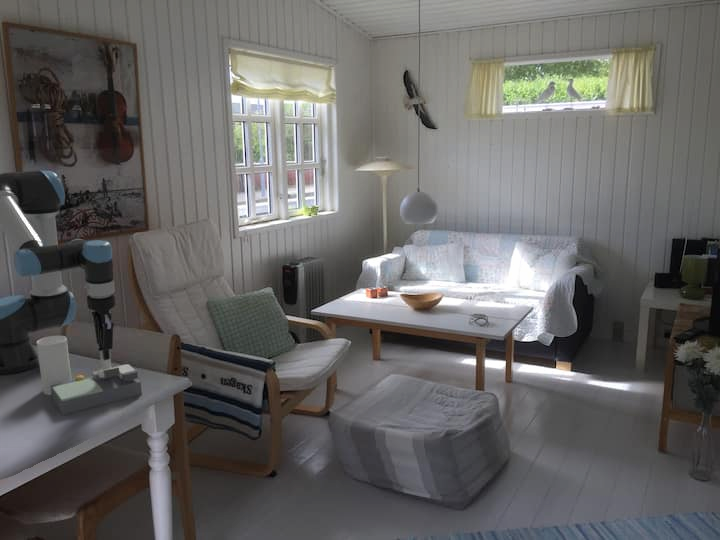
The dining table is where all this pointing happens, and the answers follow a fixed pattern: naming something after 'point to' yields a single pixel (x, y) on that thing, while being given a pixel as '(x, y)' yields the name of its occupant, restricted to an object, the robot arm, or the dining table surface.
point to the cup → (53, 361)
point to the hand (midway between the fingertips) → (106, 368)
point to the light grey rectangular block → (108, 372)
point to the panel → (96, 390)
